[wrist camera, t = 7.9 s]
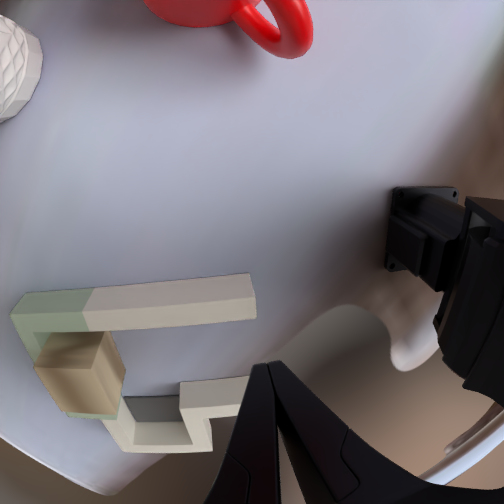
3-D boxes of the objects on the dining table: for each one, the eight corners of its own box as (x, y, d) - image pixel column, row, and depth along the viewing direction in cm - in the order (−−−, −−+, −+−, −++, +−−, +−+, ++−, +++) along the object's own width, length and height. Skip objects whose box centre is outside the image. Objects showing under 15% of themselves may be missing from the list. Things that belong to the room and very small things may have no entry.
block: (107, 323, 21) (91, 369, 17) (125, 369, 23) (116, 414, 19) (55, 325, 21) (32, 366, 16) (76, 369, 23) (61, 411, 18)
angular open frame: (249, 273, 21) (255, 296, 18) (258, 422, 28) (263, 445, 26) (25, 292, 19) (8, 314, 17) (97, 427, 27) (93, 449, 24)
